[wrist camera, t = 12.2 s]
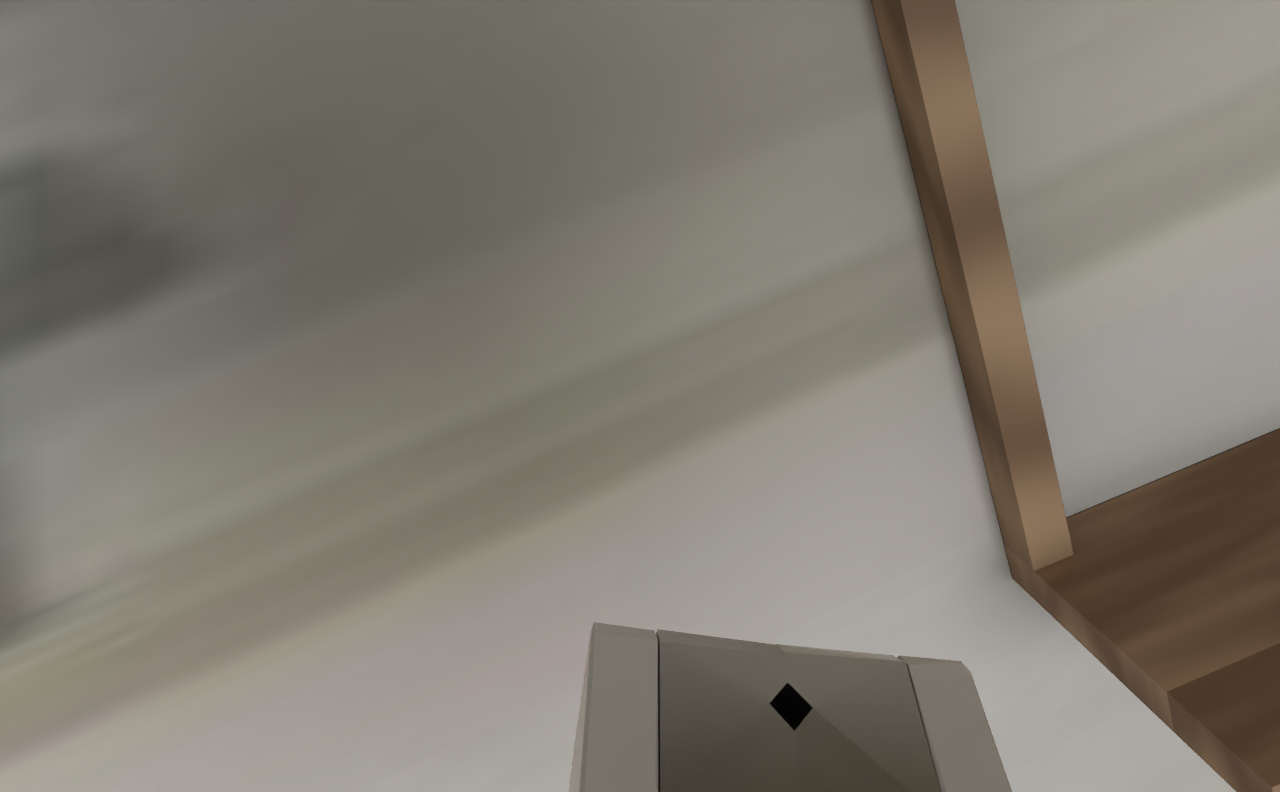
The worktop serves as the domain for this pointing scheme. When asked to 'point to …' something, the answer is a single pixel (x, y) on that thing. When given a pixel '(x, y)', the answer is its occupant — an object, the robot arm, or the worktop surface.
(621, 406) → the worktop surface
